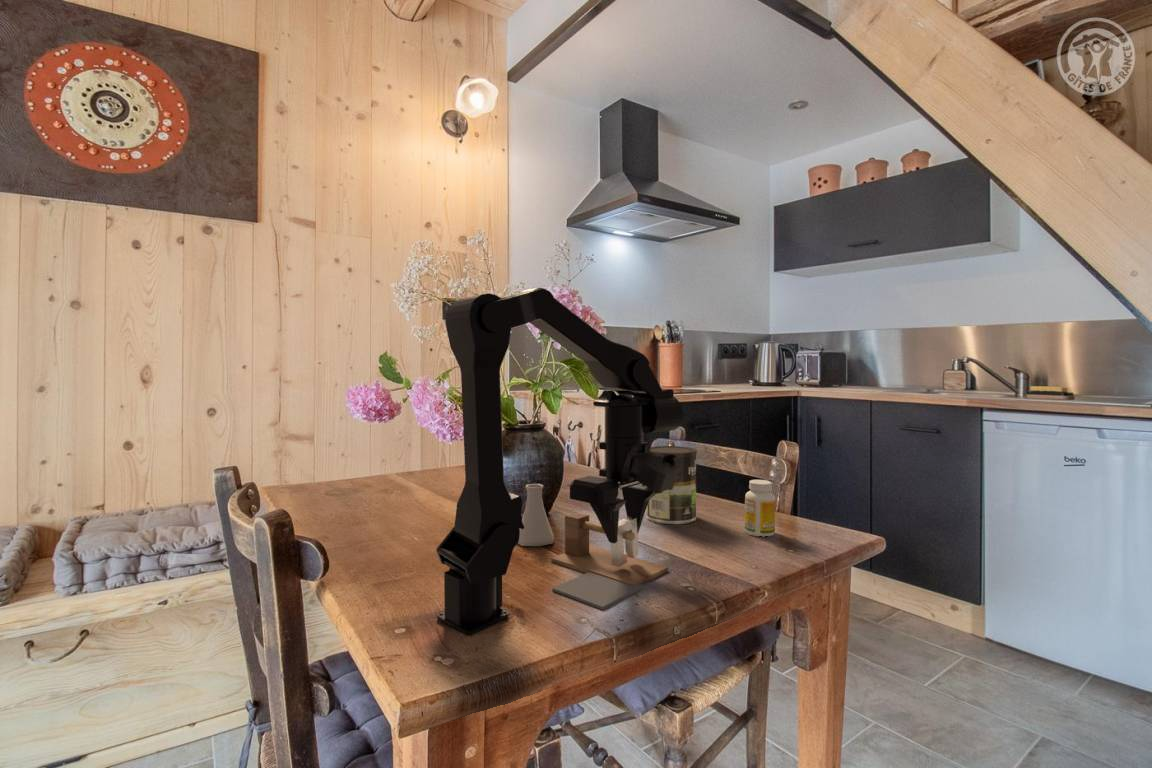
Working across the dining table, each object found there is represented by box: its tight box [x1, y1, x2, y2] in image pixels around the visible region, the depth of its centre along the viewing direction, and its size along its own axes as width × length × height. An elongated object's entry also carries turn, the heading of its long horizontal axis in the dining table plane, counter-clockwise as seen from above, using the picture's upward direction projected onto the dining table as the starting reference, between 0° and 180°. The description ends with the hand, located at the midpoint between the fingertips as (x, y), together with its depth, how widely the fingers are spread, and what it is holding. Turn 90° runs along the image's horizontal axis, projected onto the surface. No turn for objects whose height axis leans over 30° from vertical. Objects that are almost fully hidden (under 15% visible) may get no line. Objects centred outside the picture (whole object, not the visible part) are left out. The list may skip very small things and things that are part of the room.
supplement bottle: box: [744, 479, 776, 538], centre depth 103 cm, size 5×5×10 cm
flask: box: [517, 483, 555, 547], centre depth 98 cm, size 7×7×10 cm
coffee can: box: [645, 445, 698, 525], centre depth 113 cm, size 10×10×14 cm
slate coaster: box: [551, 572, 644, 611], centre depth 77 cm, size 9×9×1 cm
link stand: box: [550, 511, 669, 586], centre depth 86 cm, size 9×16×7 cm, turn 48°
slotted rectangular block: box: [609, 516, 639, 567], centre depth 84 cm, size 5×1×6 cm, turn 138°
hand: (623, 538), depth 84 cm, fingers closed on slotted rectangular block, 5 cm apart
